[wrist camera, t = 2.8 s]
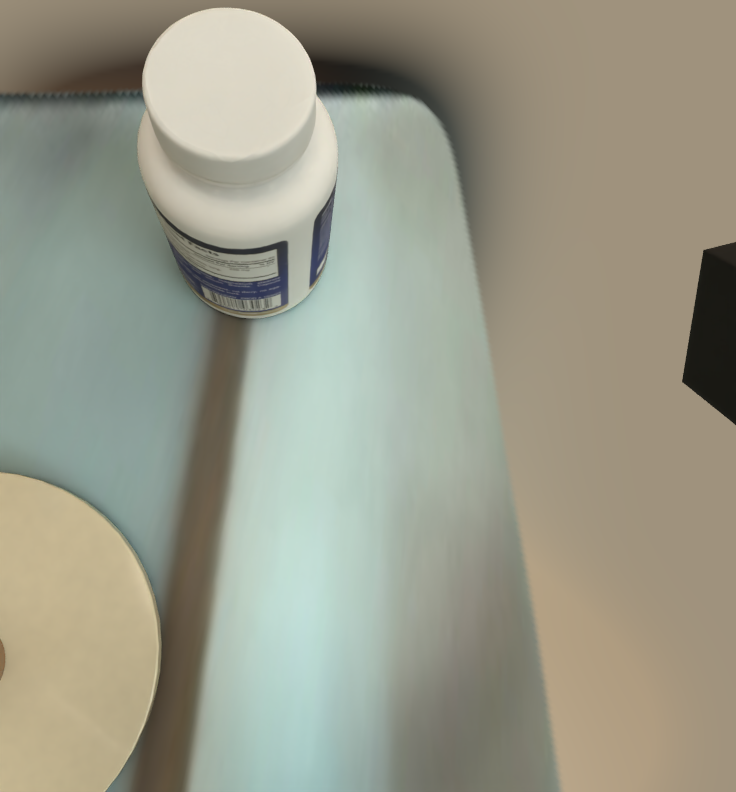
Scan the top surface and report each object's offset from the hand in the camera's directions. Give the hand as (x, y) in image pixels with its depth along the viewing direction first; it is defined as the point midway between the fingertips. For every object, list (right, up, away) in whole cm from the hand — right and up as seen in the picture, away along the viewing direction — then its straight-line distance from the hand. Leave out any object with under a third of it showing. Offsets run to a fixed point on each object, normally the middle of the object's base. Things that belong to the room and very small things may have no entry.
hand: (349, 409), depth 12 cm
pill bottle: (-4, +5, +14) cm, 16 cm away
